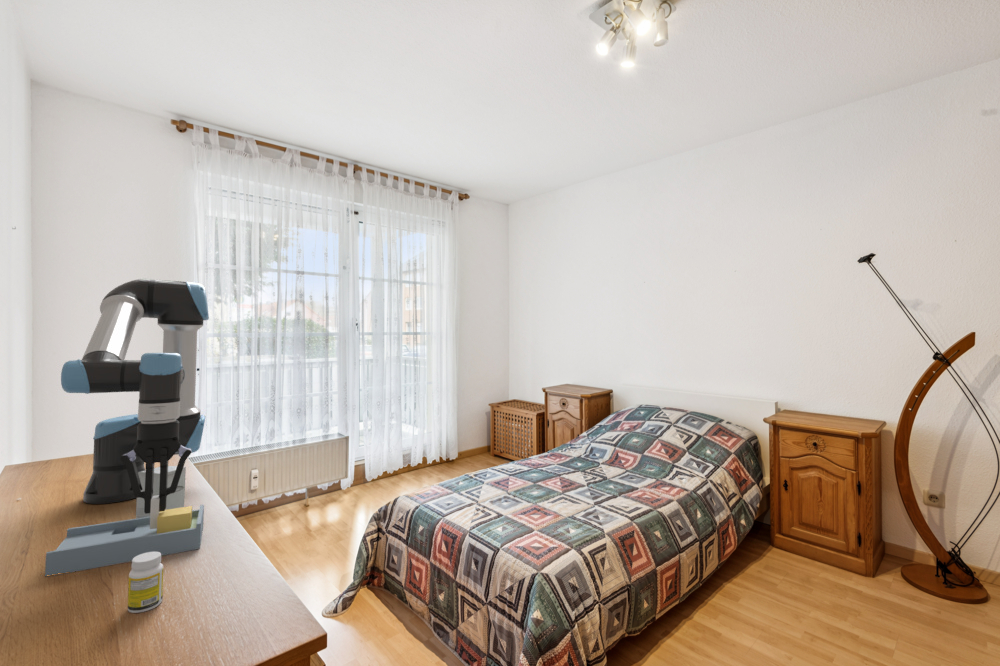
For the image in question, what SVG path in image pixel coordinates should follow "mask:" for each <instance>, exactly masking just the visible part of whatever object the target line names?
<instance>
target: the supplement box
mask: <svg viewBox="0 0 1000 666" xmlns="http://www.w3.org/2000/svg"><path fill="white" fill-rule="evenodd" d="M176 468H177V465H168V482H167V488H169V487H171V484H172V481H173V478H174V475H175V471H176ZM186 468H187V467H186V466H184V467H183V470H182V473H181V476H180V479H179V483H178V486H177V489H176V491H175V492H174V493H171V494H169V495H167V502H166V509H165V510H167V509H174V508H181V507H185V493H186V472H187V471H186V470H187V469H186ZM138 474H139V478H140V482H141V485H142V489H143V490H144V491H145V475H146V469H145V471H141V472H138ZM159 486H160V466H158V467H157V466H156V467H154V482H153V496H157V495H159ZM144 505H145V500H144V499H143V498H136V506H135V507H136V509H135V510H136V511H135V519H136V518H143V517H150V513H147V514H145V512H144Z"/></svg>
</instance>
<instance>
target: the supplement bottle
mask: <svg viewBox="0 0 1000 666" xmlns="http://www.w3.org/2000/svg"><path fill="white" fill-rule="evenodd" d="M161 562H162V556H161V553H160V552H147V553H143V554H140V555H138V556H136V557H134V558H133V559H132V561H131V570H130V571H129V573H128V587H127V588H128V591H127V592H128V593H127V611H128V612H129V613H132V614H138V613H145V612H148V611H151V610H154V608H156V607H158V606H160V605H161V603H163V592H164V589H163V588H164V564H163V563H161Z"/></svg>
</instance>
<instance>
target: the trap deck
mask: <svg viewBox="0 0 1000 666" xmlns="http://www.w3.org/2000/svg"><path fill="white" fill-rule="evenodd" d="M204 512H205V504H200V505H199V509H192V524H191V528H190V529H184V530H178V531H172V532H166V533H160V534H157V528H155V529H150V517H143V518H136V517H135V518H130V519H123V520H117V521H109V522H104V523H103V522H101V523H97V524H90V525H82V526H77V527H75V526H74V527H69V528H67V529H66V536H65V538H64V539H63V541H61V542H60V544H59V546H57V548H55V550H50V551H47V552H46V553H45V566H44V567H45V568H44V569H45V571H44V577H45V576H47V575H52V574H58V573H65V574H67V573H66V572H70V573H74V572H75V571H76V572H79V571H86V570H91V569H97V568H101V567H108V566H112V565H118V564H124V563H129V562H132V559H133V558H134V557H136V556H138V555H140V554H143V553H147V552H160V553H161V557H162V556H167V555H168V556H169V555H172V554H173V555H174V554H177V553H184V552H188V551H195V550H199V549H201V546H202V545H201V544H202V543H201V542H202V537H203V532H202V531H204V514H205V513H204Z"/></svg>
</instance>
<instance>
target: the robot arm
mask: <svg viewBox="0 0 1000 666" xmlns="http://www.w3.org/2000/svg"><path fill="white" fill-rule="evenodd" d="M207 297H208V296H207V292H206V288H205V286H204V285H203V284H201V283H199V282H198V283H197V282H191V281H179V280H178V281H176V280H161V279H151V278H139V279H134V280H130V281H127V282H125V283H123V284H122V283H121V284H120V285H118V286H116V287H114V288H113V289H112V290H110V291H109V292H108V293H107V294H106V295H105V296H104V297H103V299H102V301H101V303H100V305H99V311H100V312H99V313H100V314H101V315H100V317H99V319H98V322H97V324H96V327H95V328H94V331H93V333H92V335H91V338H90V340H89V342H88V345H87V347H86V350H85V351H84V354H83V356H82V358H81V359H73V360H68V361H65V362H64V364H62V365H63V366H62V369H61V371H60V372H61V374H60V383H61V388H62V390H63V391H64V392H65V393H69V394H86V395H88V394H89V395H90V394H102V393H103V394H104V393H105V394H106V393H122V392H124V393H130V392H131V393H134V392H135V393H137V392H139V394H138V410H137V414H136V413H135V414H126V415H121V416H115V417H112V418H111V417H110V418H107V419H102V420H101V421H99V422H98V423H96V425H95V430H94V436H93V438H92V439H93V456H92V457H93V460H92V462H93V463H92V473H91V476H90V478H89V480H88V482H87V484H86V487H85V489H84V492H83V499H82V500H83V503H85V504H91V505H92V504H93V505H97V504H98V505H102V504H111V503H112V504H113V503H119V502H126V501H130V500H133V499H137V498H143V499H144V500H145V505H144V512H145V514H147V513H150V529H155V528H157V518H158V515H159V513H160V511H165V509H166V502H167V495H169V494H171V493H174V492H175V491H176V489H177V486H178V483H179V479H180V476H181V473H182V470H183V467H185V464H186V460H187V459H188V458H189V456H191V454H194V453H196V452H198V451H199V450H200V448H201V443H202V437H203V433H204V427H205V423H206V415H203V414H201V409H200V408H199V407H198V406H196V385H197V384H196V380H197V353H198V352H197V349H198V346H197V345H198V331H199V330H200V328H202V327H204V321H208V320H209V319H210V316H209V315H210V314H209V305H208V298H207ZM142 318H144V319H145V318H150V319H157V326H159V327H160V328H161V329H162V330H163V332H162V333H163V339H162V352H145V353H143V354H141V356H140V359H138V360H137V359H130V360H129V359H127V360H126V359H125V358H126V355H127V353H128V349H129V346H130V343H131V340H132V337H133V334H134V331H135V327H136V325H137V322H139V321H141V320H142ZM173 456H179V460H178V463H177V465H176V466H177V468H176V471H175V475H174V478H173V481H172V484H171V487H169V488H167V482H168V466H169V461H170V460H171V459H172V458H173ZM155 463H159V467H160V486H159V495H157V496H153V482H154V468H155V465H156V464H155ZM145 470H146V475H145V491H144V490H143V489H142V485H141V482H140V478H139V474H138V472H141V471H145Z"/></svg>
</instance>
